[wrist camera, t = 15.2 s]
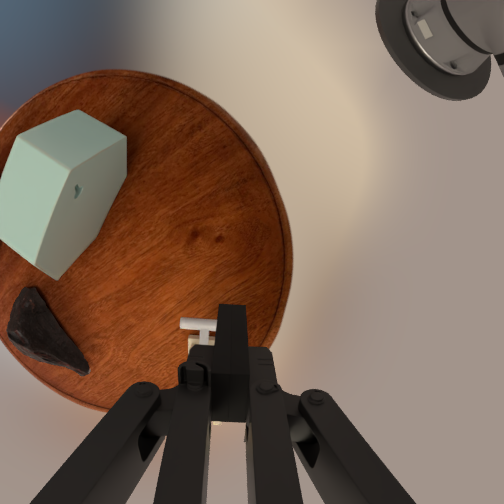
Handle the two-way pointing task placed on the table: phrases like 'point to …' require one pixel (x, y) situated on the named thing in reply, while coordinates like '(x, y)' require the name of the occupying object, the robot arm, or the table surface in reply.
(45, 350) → the rock
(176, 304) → the table surface
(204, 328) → the faucet handle
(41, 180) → the planter
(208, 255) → the table surface
